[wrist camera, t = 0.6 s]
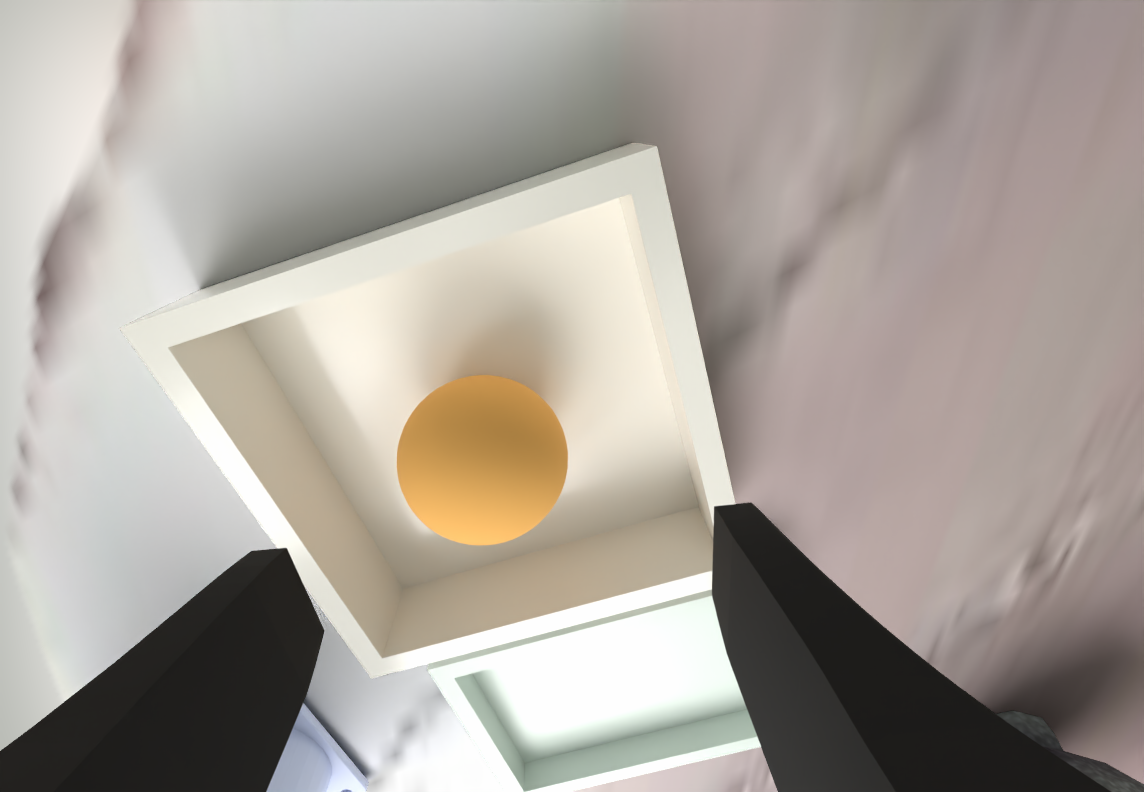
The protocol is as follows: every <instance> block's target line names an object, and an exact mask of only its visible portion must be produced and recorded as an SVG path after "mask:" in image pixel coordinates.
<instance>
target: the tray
mask: <svg viewBox="0 0 1144 792" xmlns="http://www.w3.org/2000/svg"><path fill="white" fill-rule="evenodd" d="M427 671H428V672H429V674H430V676H431V677H432V679H433V680H434V682H435V683H436V685H437V686H438V688H439V690H440V691H441V693H442V694H443V696H444V697H445V699H446V700H447V702H448V704H449V705H450V707H451V708H452V710H453V711H454V713H455V714H456V716H457V717H458V719H459V721H460V722H461V724H462V725H463V727H464V728H465V730H466V731H467V733H468V735H469V736H470V738H471V739H472V741H473V742H474V744H475V745H476V747H477V749H478V750H479V752H480V753H481V755H482V756H483V758H484V759H485V761H486V763H487V764H488V766H489V767H490V769H491V770H492V772H493V773H494V775H495V777H496V778H497V780H498V781H499V783H500V784H501V786H502V787H503V789H504V790H505V792H571V791H575V790H579V789H583V788H588V787H592V786H596V785H600V784H605V783H609V782H613V781H617V780H622V779H626V778H630V777H634V776H639V775H643V774H647V773H651V772H656V771H660V770H664V769H668V768H673V767H677V766H681V765H685V764H690V763H694V762H698V761H702V760H707V759H711V758H715V757H719V756H724V755H728V754H732V753H736V752H741V751H745V750H749V749H753V748H758V747H761V745H760V742H759V740H758V737H757V734H756V732H755V729H754V726H753V724H752V721H751V718H750V716H749V713H748V710H747V708H746V705H745V702H744V699H743V697H742V694H741V691H740V689H739V686H738V683H737V681H736V678H735V675H734V672H733V670H732V667H731V664H730V661H729V659H728V656H727V653H726V649H725V645H724V641H723V638H722V634H721V630H720V626H719V622H718V618H717V614H716V610H715V606H714V602H713V598H712V589H711V590H707V591H703V592H700V593H696V594H692V595H688V596H684V597H681V598H677V599H673V600H669V601H665V602H662V603H658V604H654V605H650V606H646V607H642V608H639V609H635V610H631V611H627V612H623V613H620V614H616V615H612V616H608V617H604V618H601V619H597V620H593V621H589V622H585V623H582V624H578V625H574V626H570V627H566V628H563V629H559V630H555V631H551V632H547V633H544V634H540V635H536V636H532V637H528V638H525V639H521V640H517V641H513V642H509V643H506V644H502V645H498V646H494V647H490V648H487V649H483V650H479V651H475V652H471V653H468V654H464V655H460V656H456V657H452V658H448V659H445V660H441V661H437V662H433V663H429V664H428V669H427Z"/></svg>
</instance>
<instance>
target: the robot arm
mask: <svg viewBox="0 0 1144 792" xmlns="http://www.w3.org/2000/svg"><path fill="white" fill-rule="evenodd" d="M712 598H713V602H714V606H715V610H716V614H717V618H718V622H719V626H720V630H721V634H722V638H723V641H724V645H725V649H726V653H727V656H728V659H729V661H730V664H731V667H732V670H733V672H734V675H735V678H736V681H737V683H738V686H739V689H740V691H741V694H742V697H743V699H744V702H745V705H746V708H747V710H748V713H749V716H750V718H751V721H752V724H753V726H754V729H755V732H756V734H757V737H758V740H759V742H760V745H761V748H762V750H763V753H764V756H765V758H766V761H767V764H768V766H769V769H770V772H771V774H772V777H773V780H774V782H775V785H776V788H777V790H778V792H1111V791H1110V790H1108V789H1107V788H1105V787H1104V786H1102V785H1101V784H1099V783H1097V782H1096V781H1094V780H1093V779H1091V778H1090V777H1088V776H1087V775H1085V774H1084V773H1082V772H1081V771H1079V770H1078V769H1076V768H1074V767H1073V766H1071V765H1070V764H1068V763H1067V762H1065V761H1064V760H1062V759H1061V758H1059V757H1058V756H1056V755H1054V754H1053V753H1051V752H1050V751H1048V750H1047V749H1045V748H1044V747H1042V746H1041V745H1039V744H1038V743H1037V742H1035V741H1034V740H1032V739H1031V738H1029V737H1028V736H1026V735H1025V734H1023V733H1022V732H1021V731H1019V730H1018V729H1016V728H1015V727H1013V726H1012V725H1010V724H1009V723H1008V722H1006V721H1005V720H1003V719H1002V718H1001V717H999V716H998V715H997V714H995V713H994V712H992V711H991V710H990V709H988V708H987V707H986V706H984V705H983V704H982V703H980V702H979V701H977V700H976V699H975V698H973V697H972V696H971V695H969V694H968V693H967V692H965V691H964V690H962V689H961V688H960V687H958V686H957V685H956V684H954V683H953V682H952V681H950V680H949V679H948V678H947V677H945V676H944V675H943V674H941V673H940V672H939V671H938V670H936V669H935V668H934V667H932V666H931V665H930V664H929V663H927V662H926V661H925V660H924V659H922V658H921V657H920V656H919V655H917V654H916V653H915V652H914V651H912V650H911V649H910V648H909V647H908V646H906V645H905V644H904V643H903V642H902V641H900V640H899V639H898V638H897V637H896V636H894V635H893V634H892V633H891V632H889V631H888V630H887V629H886V628H885V627H883V626H882V625H881V624H880V623H879V622H878V621H876V620H875V619H874V618H873V617H872V616H871V615H870V614H868V613H867V612H866V611H865V610H864V609H863V608H861V607H860V606H859V605H858V604H857V603H856V602H855V601H854V600H853V599H851V598H850V597H849V596H848V595H847V594H846V593H845V592H844V591H843V590H842V589H840V588H839V587H838V586H837V585H836V584H835V583H834V582H833V581H832V580H831V579H829V578H828V577H827V576H826V575H825V574H824V573H823V572H822V571H821V570H820V569H819V568H818V567H817V566H815V565H814V564H813V563H812V562H811V561H810V560H809V559H808V558H807V557H806V556H805V555H804V554H803V553H802V552H801V551H800V550H799V549H798V548H797V547H796V546H795V545H794V544H793V543H792V542H791V541H790V540H789V539H788V538H787V537H786V536H785V535H784V534H783V533H782V532H781V531H780V530H779V529H778V528H777V527H776V526H775V525H774V524H773V523H772V522H771V521H770V520H769V519H768V518H767V517H766V516H765V515H764V514H763V513H762V512H761V511H760V510H759V509H758V508H757V507H756V506H754V505H753V504H752V503H743V504H732V505H722V506H714V528H713V565H712ZM323 634H324V629H323V627H322V625H321V622H320V620H319V618H318V616H317V614H316V611H315V609H314V607H313V605H312V602H311V600H310V598H309V596H308V594H307V591H306V589H305V587H304V585H303V583H302V580H301V578H300V576H299V574H298V572H297V569H296V567H295V565H294V563H293V560H292V558H291V556H290V554H289V552H288V549H287V548H279V549H269V550H258V551H251V552H250V553H248V554H247V555H246V556H244V557H243V558H242V559H240V560H239V561H238V562H236V563H235V564H234V565H232V566H231V567H230V568H229V569H227V570H226V571H225V572H224V573H222V574H221V575H220V576H219V577H217V578H216V579H215V580H214V581H213V582H211V583H210V584H209V585H208V586H206V587H205V588H204V589H203V590H202V591H200V592H199V593H198V594H197V595H196V596H194V597H193V598H192V599H191V600H190V601H188V602H187V603H186V604H185V605H184V606H182V607H181V608H180V609H179V610H178V611H176V612H175V613H174V614H173V615H172V616H170V617H169V618H168V619H167V620H166V621H164V622H163V623H162V624H161V625H160V626H158V627H157V628H156V629H155V630H154V631H152V632H151V633H150V634H149V635H147V636H146V637H145V638H144V639H143V640H141V641H140V642H139V643H138V644H137V645H135V646H134V647H133V648H132V649H131V650H129V651H128V652H127V653H126V654H125V655H123V656H122V657H121V658H120V659H118V660H117V661H116V662H115V663H114V664H112V665H111V666H110V667H108V668H107V669H106V670H105V671H103V672H102V673H101V674H99V675H98V676H97V677H96V678H94V679H93V680H92V681H91V682H89V683H88V684H87V685H85V686H84V687H83V688H82V689H80V690H79V691H78V692H77V693H75V694H74V695H73V696H71V697H70V698H69V699H68V700H66V701H65V702H64V703H63V704H61V705H60V706H59V707H58V708H56V709H55V710H54V711H52V712H51V713H50V714H49V715H47V716H46V717H45V718H43V719H42V720H41V721H40V722H38V723H37V724H36V725H35V726H33V727H32V728H31V729H29V730H28V731H27V732H25V733H24V734H23V735H21V736H20V737H18V738H17V739H16V740H14V741H13V742H12V743H11V744H9V745H8V746H7V747H5V748H4V749H2V750H1V751H0V792H366V791H367V787H368V783H369V782H368V780H367V779H366V778H365V777H364V775H363V774H362V773H361V772H360V771H359V769H358V768H357V767H356V766H355V765H354V763H353V762H352V761H351V760H350V758H349V757H348V756H347V755H346V754H345V752H344V751H343V750H342V749H341V748H340V746H339V745H338V744H337V743H336V742H335V740H334V739H333V738H332V737H331V736H330V734H329V733H328V732H327V731H326V730H325V728H324V727H323V726H322V725H321V724H320V722H319V721H318V720H317V719H316V717H315V716H314V715H313V714H312V713H311V711H310V710H309V709H308V708H307V707H306V705H305V704H304V703H303V702H304V699H305V697H306V694H307V692H308V688H309V685H310V682H311V678H312V675H313V672H314V668H315V665H316V661H317V657H318V653H319V650H320V646H321V642H322V638H323Z"/></svg>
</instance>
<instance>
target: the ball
mask: <svg viewBox="0 0 1144 792" xmlns="http://www.w3.org/2000/svg"><path fill="white" fill-rule="evenodd" d="M567 469H568V449H567V443H566V438H565V435H564V431H563V429H562V426H561V424H560V422H559V420H558V418H557V416H556V415H555V413H554V412H553V410H552V409H551V407H550V406H549V405H548V404H547V403H546V401H544V400H543V399H542V398H541V397H540V396H539V395H538V394H537V393H536V392H534V391H533V390H531V389H530V388H528V387H527V386H525V385H523V384H521V383H519V382H516V381H514V380H511V379H508V378H504V377H500V376H492V375H475V376H468V377H464V378H459V379H457V380H454V381H451V382H449V383H447V384H445V385H443V386H441V387H439V388H437V389H436V390H434V391H433V392H432V393H430V394H429V395H428V396H427V397H426V398H425V399H424V400H423V401H421V402H420V403H419V404H418V406H417V407H416V408H415V409H414V411H413V412H412V414H411V415H410V417H409V418H408V420H407V422H406V424H405V426H404V428H403V431H402V434H401V437H400V440H399V444H398V449H397V474H398V480H399V484H400V487H401V491H402V493H403V495H404V497H405V499H406V501H407V503H408V505H409V507H410V508H411V510H412V511H413V512H414V514H415V515H416V516H417V517H418V518H419V519H420V520H421V521H422V522H423V523H424V524H425V525H426V526H427V527H428V528H430V529H431V530H432V531H434V532H435V533H437V534H439V535H441V536H442V537H445V538H447V539H449V540H452V541H455V542H459V543H463V544H468V545H494V544H499V543H504V542H507V541H510V540H513V539H515V538H517V537H519V536H521V535H523V534H525V533H526V532H528V531H530V530H531V529H533V528H534V527H535V526H536V525H538V524H539V523H540V522H541V521H542V520H543V519H544V518H545V517H546V515H547V514H548V513H549V512H550V511H551V509H552V508H553V507H554V505H555V503H556V502H557V500H558V498H559V496H560V494H561V492H562V489H563V486H564V483H565V479H566V475H567Z"/></svg>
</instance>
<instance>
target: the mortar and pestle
mask: <svg viewBox="0 0 1144 792" xmlns="http://www.w3.org/2000/svg"><path fill="white" fill-rule="evenodd" d="M997 715H998V716H999V717H1001V718H1002V719H1003V720H1005V721H1006V722H1008V723H1009V724H1010V725H1012V726H1013V727H1015V728H1016V729H1018V730H1019V731H1021V732H1022V733H1023V734H1025V735H1026V736H1028V737H1029V738H1031V739H1032V740H1034V741H1035V742H1037V743H1038V744H1039V745H1041V746H1042V747H1044V748H1045V749H1047V750H1048V751H1050V752H1051V753H1053V754H1054V755H1056V756H1058V757H1059V758H1061V759H1062V760H1064V761H1065V762H1067V763H1068V764H1070V765H1071V766H1073V767H1074V768H1076V769H1078V770H1079V771H1081V772H1082V773H1084V774H1085V775H1087V776H1088V777H1090V778H1091V779H1093V780H1094V781H1096V782H1097V783H1099V784H1101V785H1102V786H1104V787H1105V788H1107V789H1108V790H1110V791H1111V792H1144V784H1142V783H1140V782H1138V781H1137V780H1135V779H1133V778H1131V777H1129V776H1128V775H1126V774H1124V773H1122V772H1120V771H1119V770H1117V769H1115V768H1113V767H1111V766H1110V765H1108V764H1106V763H1103V762H1100V761H1096V760H1093V759H1089V758H1086V757H1082V756H1079V755H1075V754H1072V753H1068V752H1065V751H1063V749H1062V747H1061V745H1060V743H1059V742H1058V740H1057V738H1056V736H1055V734H1054V733H1053V731H1052V730H1051V729H1050V728H1049V726H1048V725H1047V724H1046V722H1045V721H1044V720H1043V719H1042V718H1041V717H1037V716H1033V715H1029V714H1025V713H1021V712H1017V711H1008V712H1003V713H998V714H997Z"/></svg>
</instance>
